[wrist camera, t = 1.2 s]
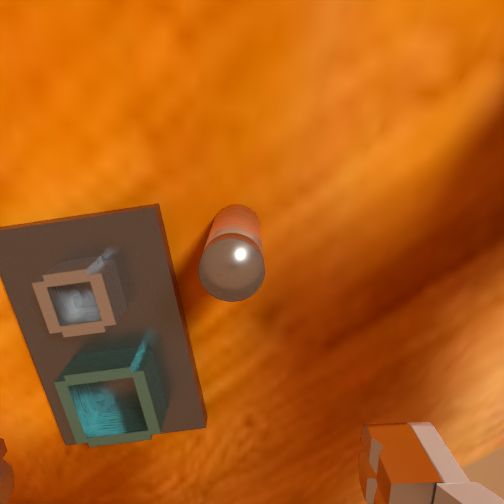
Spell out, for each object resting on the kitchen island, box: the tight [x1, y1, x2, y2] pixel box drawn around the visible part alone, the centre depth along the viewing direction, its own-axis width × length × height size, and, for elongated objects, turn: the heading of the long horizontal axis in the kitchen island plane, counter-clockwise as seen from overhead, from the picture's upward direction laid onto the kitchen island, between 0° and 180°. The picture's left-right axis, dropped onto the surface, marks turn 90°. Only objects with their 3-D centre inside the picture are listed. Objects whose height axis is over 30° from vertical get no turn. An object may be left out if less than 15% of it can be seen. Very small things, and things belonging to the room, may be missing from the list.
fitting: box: [198, 204, 265, 302], centre depth 28 cm, size 4×4×10 cm
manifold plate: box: [0, 204, 207, 447], centre depth 34 cm, size 14×22×4 cm, turn 8°
